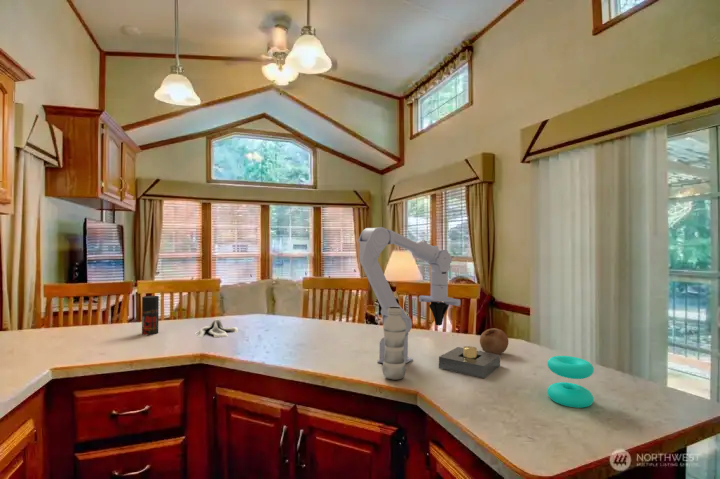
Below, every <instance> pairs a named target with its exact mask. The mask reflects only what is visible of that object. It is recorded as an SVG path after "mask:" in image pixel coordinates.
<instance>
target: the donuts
mask: <svg viewBox="0 0 720 479" xmlns="http://www.w3.org/2000/svg"><path fill="white" fill-rule="evenodd" d="M546 363H547V364H546V365H547V367H548V369H549V370H550V371H551V373H553V374H555V375H557V376H560V377H563V378H567V379H570V380H571V379H572V380H584V379H588V378H589V377H591V376H592V375H593V374H594V370H595V369H594V366H593V364H592V363H591V362H590V361H588V360H586V359H584V358H581V357H576V356H569V355H556V356H555V355H554V356H551V357H550V358H549V359H548V360H547V362H546ZM546 393H547V396H548V398H550V400H551V401H553V402H555V403H557V404H558V405H561V406H563V407H569V408H570V407H571V408H577V409H578V408H579V409H580V408H582V409H583V408H587V407H590V406H591V405H592V404H593V403H594V396H593V394H592V392H591V391H590V390H589V389H587V388H585V387H584V386H583V385H579V384H577V383H573V382H567V381H566V382H565V381H562V382H561V381H559V382H554V383H552V384H550V385H548V387H547V390H546Z"/></svg>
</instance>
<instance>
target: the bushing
mask: <svg viewBox="0 0 720 479" xmlns="http://www.w3.org/2000/svg"><path fill="white" fill-rule="evenodd" d="M462 348H463V357H464V358H469V359H474V360H476V359H477V351H478V349H477V347H476V346H471V345H469V346H468V345H466V346H463V347H462Z"/></svg>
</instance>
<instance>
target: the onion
mask: <svg viewBox="0 0 720 479" xmlns="http://www.w3.org/2000/svg"><path fill="white" fill-rule="evenodd" d="M479 345H480V347H481V350H482V352H488V353H493V354H498V355H501V354H502V353H504V352H505V351H506V350H507V349H508V346H509V338H508V335H507V334H506V332H505V331H503V330H502V329H500V328H497V327H496V328H494V327H493V328H488V329H486V330H484V331H483V332H482V333H481V335H480V337H479Z"/></svg>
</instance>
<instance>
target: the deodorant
mask: <svg viewBox="0 0 720 479" xmlns="http://www.w3.org/2000/svg"><path fill="white" fill-rule="evenodd" d="M141 297H142V298H141V300H142V301H141V336H151V335H157V334H159V318H160V316H159V313H160V312H159V310H160V309H159V304H160V303H159V302H160V300H159V298H160V297H159V296H158V295H145V296H141Z"/></svg>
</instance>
